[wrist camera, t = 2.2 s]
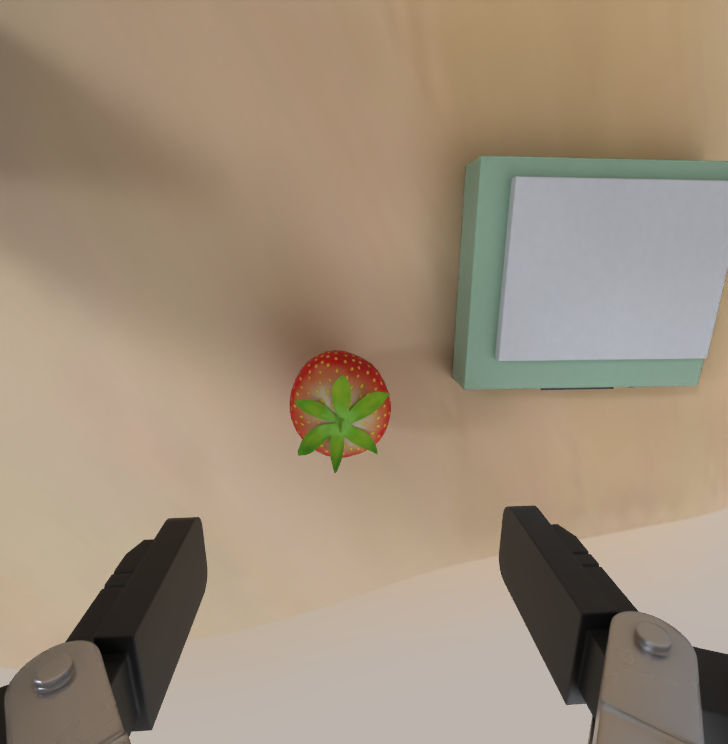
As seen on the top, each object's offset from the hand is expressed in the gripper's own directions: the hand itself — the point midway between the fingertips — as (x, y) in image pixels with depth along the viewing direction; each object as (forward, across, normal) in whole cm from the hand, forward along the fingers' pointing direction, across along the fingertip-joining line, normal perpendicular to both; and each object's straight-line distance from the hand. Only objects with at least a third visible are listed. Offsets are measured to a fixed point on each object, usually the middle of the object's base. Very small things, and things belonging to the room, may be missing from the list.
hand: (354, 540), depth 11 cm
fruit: (+15, 0, 0) cm, 15 cm away
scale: (+15, -14, -6) cm, 21 cm away
